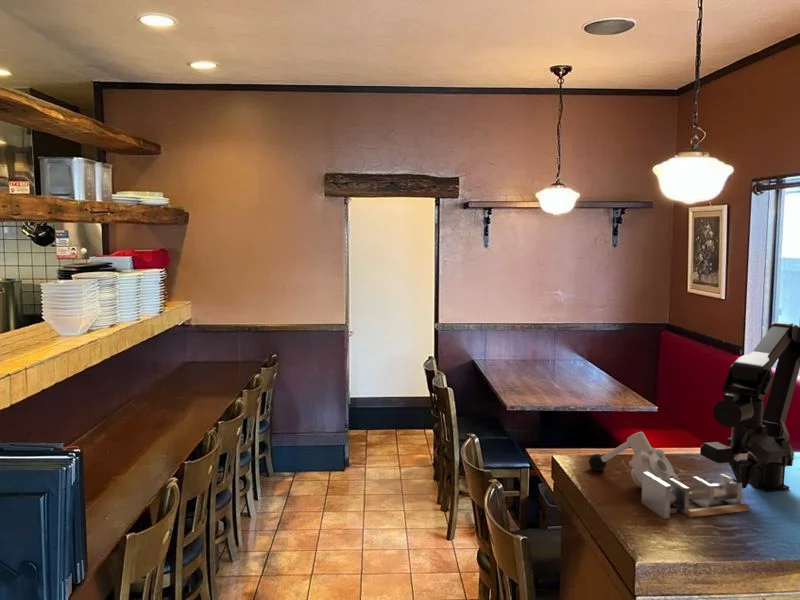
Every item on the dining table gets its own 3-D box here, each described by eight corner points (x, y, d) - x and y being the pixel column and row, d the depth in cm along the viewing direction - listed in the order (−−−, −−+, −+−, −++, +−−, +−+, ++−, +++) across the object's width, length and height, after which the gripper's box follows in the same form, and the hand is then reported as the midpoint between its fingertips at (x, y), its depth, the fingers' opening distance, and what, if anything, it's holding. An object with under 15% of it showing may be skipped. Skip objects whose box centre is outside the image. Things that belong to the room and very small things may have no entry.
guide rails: (718, 493, 147) (719, 488, 147) (748, 510, 138) (749, 505, 138) (662, 499, 144) (663, 494, 143) (689, 517, 135) (690, 511, 135)
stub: (668, 500, 143) (669, 469, 143) (692, 515, 136) (694, 483, 135) (641, 502, 142) (642, 472, 141) (664, 518, 134) (665, 486, 133)
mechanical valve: (661, 491, 141) (626, 428, 148) (603, 520, 153) (574, 460, 160) (686, 483, 148) (652, 424, 155) (629, 512, 159) (600, 455, 166)
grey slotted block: (722, 497, 145) (723, 473, 145) (740, 507, 140) (742, 483, 139) (691, 500, 143) (692, 476, 143) (708, 511, 138) (710, 486, 137)
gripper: (738, 432, 131) (733, 506, 133) (814, 426, 135) (808, 498, 137) (700, 417, 142) (696, 485, 143) (771, 412, 146) (766, 479, 148)
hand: (742, 487), depth 143 cm, fingers closed
